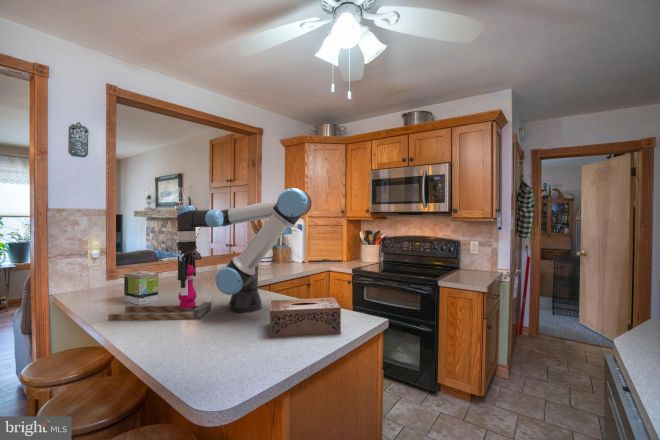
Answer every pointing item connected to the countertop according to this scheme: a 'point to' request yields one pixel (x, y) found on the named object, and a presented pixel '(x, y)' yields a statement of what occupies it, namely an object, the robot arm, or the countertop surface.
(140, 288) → the tea box
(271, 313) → the tissue box cover
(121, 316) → the guide track
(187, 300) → the pepper mill
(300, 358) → the countertop surface
